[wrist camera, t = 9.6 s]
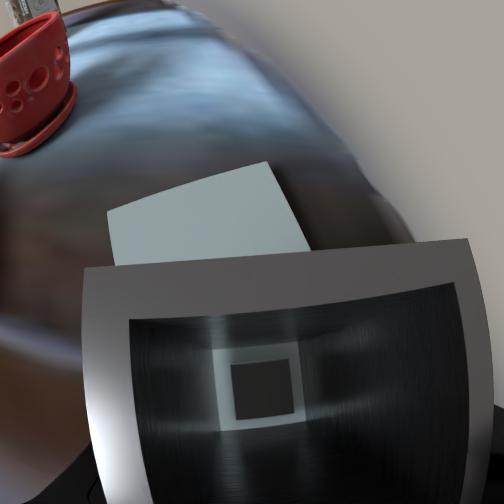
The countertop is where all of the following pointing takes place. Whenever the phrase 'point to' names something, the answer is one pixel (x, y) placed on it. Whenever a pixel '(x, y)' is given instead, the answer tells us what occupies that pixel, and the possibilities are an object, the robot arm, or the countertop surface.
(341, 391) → the steel sleeve
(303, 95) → the countertop surface
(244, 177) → the base plate
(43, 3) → the coffee box
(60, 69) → the plant pot
